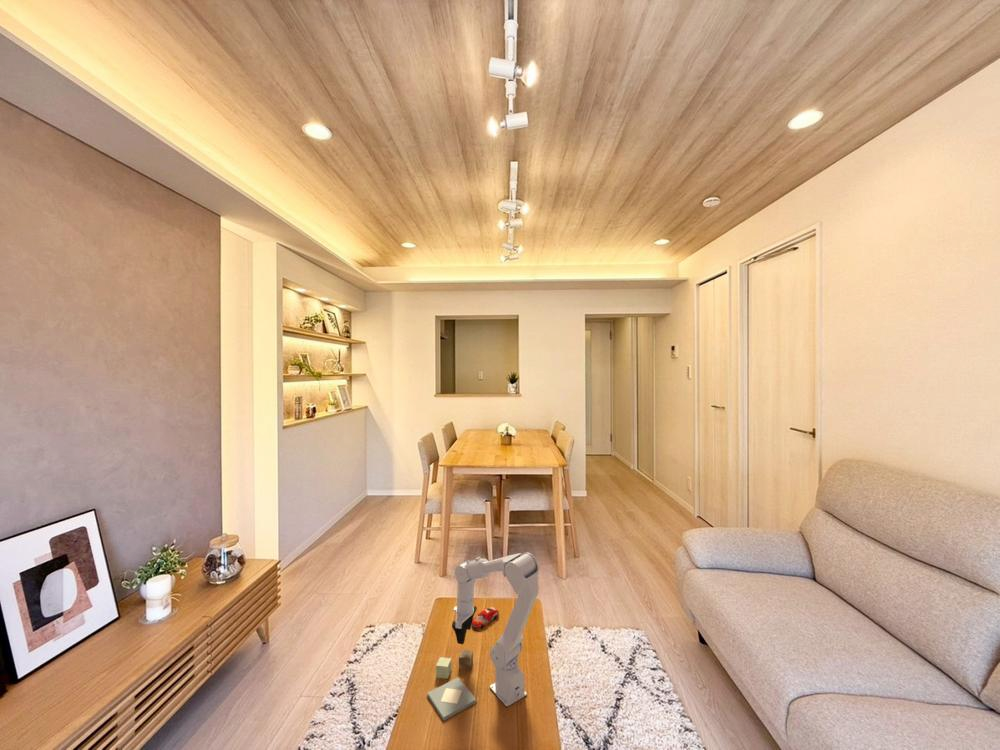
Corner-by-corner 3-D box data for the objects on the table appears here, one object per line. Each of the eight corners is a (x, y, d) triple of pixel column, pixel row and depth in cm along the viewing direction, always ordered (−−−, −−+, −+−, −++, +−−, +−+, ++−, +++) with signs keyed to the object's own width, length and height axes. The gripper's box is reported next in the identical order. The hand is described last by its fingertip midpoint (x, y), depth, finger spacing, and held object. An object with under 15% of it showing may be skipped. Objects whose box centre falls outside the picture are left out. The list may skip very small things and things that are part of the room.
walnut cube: (473, 662, 138) (472, 650, 138) (470, 670, 134) (470, 658, 134) (461, 660, 138) (461, 649, 138) (458, 669, 134) (458, 657, 134)
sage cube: (451, 670, 134) (451, 658, 134) (447, 679, 130) (447, 666, 130) (440, 668, 134) (440, 657, 134) (436, 677, 130) (436, 665, 131)
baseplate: (476, 702, 120) (475, 699, 120) (443, 720, 114) (443, 716, 114) (458, 680, 129) (458, 676, 129) (427, 696, 123) (427, 692, 123)
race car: (478, 632, 154) (478, 622, 154) (468, 626, 158) (468, 616, 158) (501, 617, 164) (501, 607, 164) (491, 612, 167) (491, 602, 167)
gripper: (461, 584, 145) (459, 620, 145) (447, 607, 131) (445, 647, 131) (479, 587, 143) (478, 624, 143) (467, 611, 129) (466, 651, 129)
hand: (464, 635), depth 137 cm, fingers open, 7 cm apart
